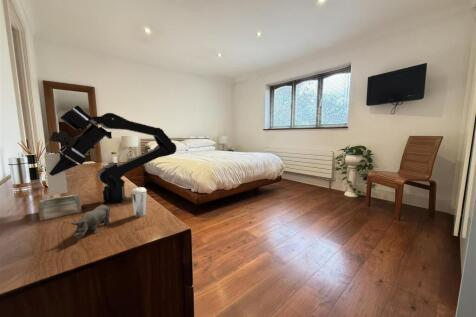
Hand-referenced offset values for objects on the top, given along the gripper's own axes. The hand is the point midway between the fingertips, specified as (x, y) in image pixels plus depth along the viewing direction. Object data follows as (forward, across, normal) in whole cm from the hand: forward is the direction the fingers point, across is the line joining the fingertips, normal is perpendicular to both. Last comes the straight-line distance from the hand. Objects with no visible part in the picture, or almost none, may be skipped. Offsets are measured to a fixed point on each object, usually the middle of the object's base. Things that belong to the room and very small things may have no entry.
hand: (50, 173), depth 64 cm
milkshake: (-4, +22, +24) cm, 33 cm away
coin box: (+8, 0, +11) cm, 14 cm away
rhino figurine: (+5, +25, +14) cm, 29 cm away
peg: (+4, 0, +6) cm, 7 cm away
